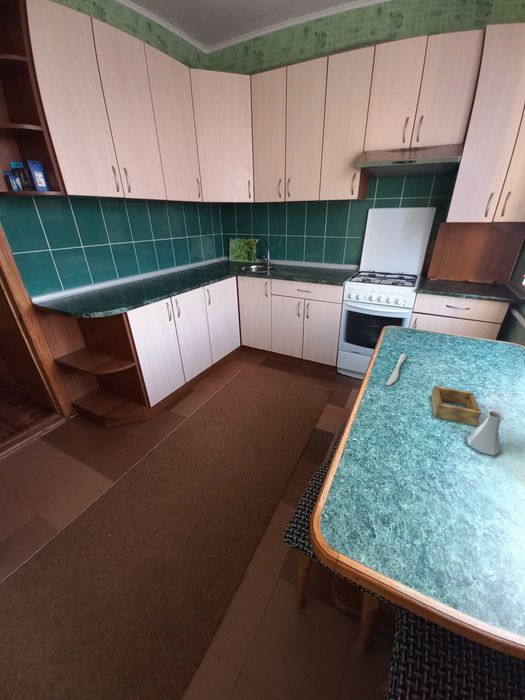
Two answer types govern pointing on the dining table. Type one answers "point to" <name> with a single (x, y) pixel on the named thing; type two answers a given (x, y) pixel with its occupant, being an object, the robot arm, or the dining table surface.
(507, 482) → the dining table surface
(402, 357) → the butter knife
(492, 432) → the flask
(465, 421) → the square wooden frame
